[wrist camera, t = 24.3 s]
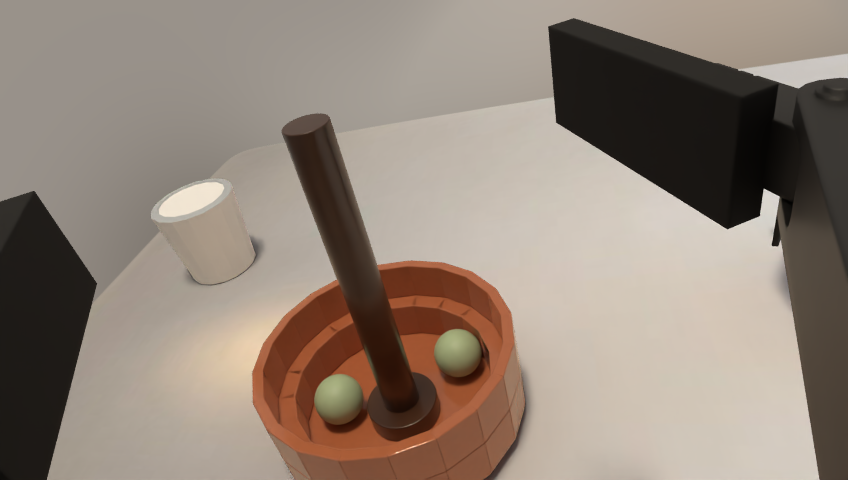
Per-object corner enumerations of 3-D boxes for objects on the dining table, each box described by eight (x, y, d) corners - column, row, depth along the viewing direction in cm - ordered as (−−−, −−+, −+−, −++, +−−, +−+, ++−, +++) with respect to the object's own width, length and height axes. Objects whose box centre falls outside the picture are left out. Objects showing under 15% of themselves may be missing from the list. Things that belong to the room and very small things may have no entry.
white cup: (274, 260, 50) (243, 191, 47) (200, 300, 48) (161, 231, 44) (246, 233, 56) (216, 169, 52) (177, 268, 53) (141, 203, 49)
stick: (359, 414, 34) (241, 134, 24) (412, 374, 35) (322, 96, 25) (399, 455, 31) (283, 156, 21) (454, 409, 33) (372, 112, 23)
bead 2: (432, 385, 34) (418, 339, 34) (463, 377, 36) (450, 333, 36) (466, 375, 32) (451, 326, 33) (497, 366, 34) (482, 320, 35)
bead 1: (320, 412, 35) (324, 366, 35) (365, 418, 34) (370, 372, 34) (305, 428, 32) (310, 377, 32) (354, 435, 32) (359, 384, 32)
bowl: (240, 445, 34) (201, 384, 31) (393, 300, 43) (374, 240, 39) (420, 585, 26) (391, 518, 23) (570, 370, 34) (563, 299, 31)
